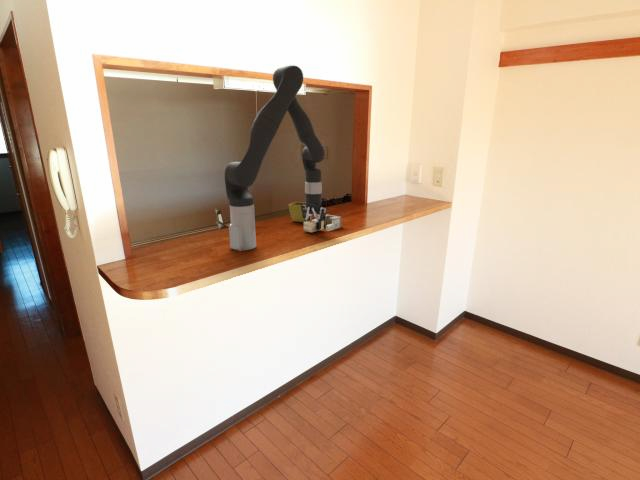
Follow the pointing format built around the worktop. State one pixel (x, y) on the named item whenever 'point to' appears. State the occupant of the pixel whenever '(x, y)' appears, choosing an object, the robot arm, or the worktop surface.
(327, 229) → the channel
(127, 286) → the worktop surface
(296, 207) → the flower pot
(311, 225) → the cream pronged block
